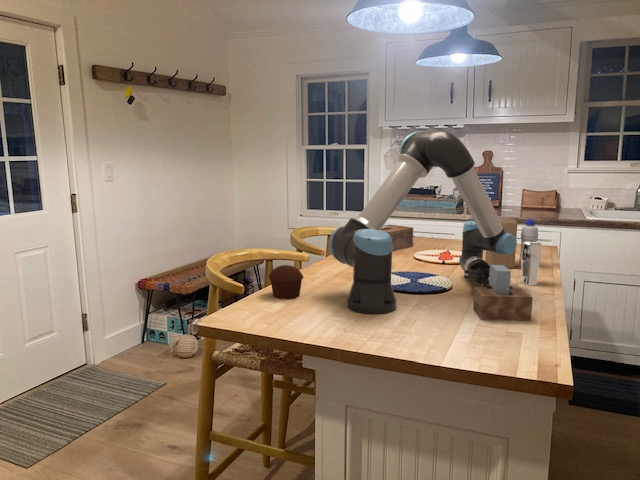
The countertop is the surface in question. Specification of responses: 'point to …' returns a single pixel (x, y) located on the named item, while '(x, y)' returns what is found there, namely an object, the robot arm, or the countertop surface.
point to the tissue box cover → (399, 236)
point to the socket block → (502, 304)
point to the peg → (500, 279)
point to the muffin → (286, 282)
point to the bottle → (529, 233)
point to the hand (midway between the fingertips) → (495, 286)
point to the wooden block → (500, 259)
